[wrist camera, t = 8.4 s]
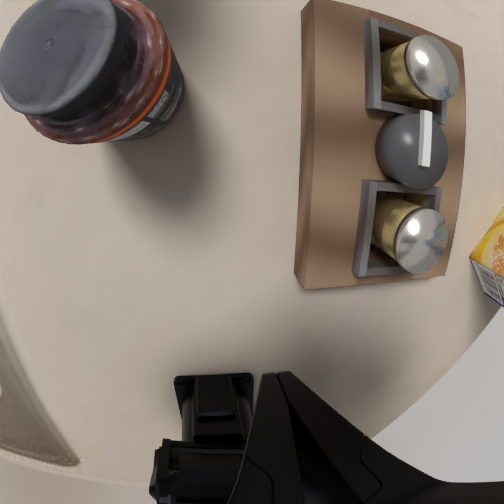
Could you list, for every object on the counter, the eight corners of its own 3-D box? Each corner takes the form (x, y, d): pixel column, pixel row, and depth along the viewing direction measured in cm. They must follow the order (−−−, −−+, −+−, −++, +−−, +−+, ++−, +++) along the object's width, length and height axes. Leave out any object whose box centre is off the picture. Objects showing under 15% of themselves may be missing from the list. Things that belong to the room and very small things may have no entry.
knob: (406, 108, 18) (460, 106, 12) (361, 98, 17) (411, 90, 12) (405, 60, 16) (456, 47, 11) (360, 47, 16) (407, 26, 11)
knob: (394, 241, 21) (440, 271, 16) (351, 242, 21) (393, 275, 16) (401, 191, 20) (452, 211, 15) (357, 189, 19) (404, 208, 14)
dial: (427, 186, 17) (448, 193, 15) (373, 181, 17) (393, 188, 15) (431, 118, 16) (454, 118, 14) (376, 105, 15) (397, 103, 13)
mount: (427, 263, 23) (452, 280, 19) (293, 272, 21) (309, 297, 18) (441, 51, 16) (470, 45, 13) (301, 11, 15) (319, -10, 11)
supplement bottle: (97, 53, 14) (-2, -15, 3) (190, 48, 15) (173, -57, 4) (89, 143, 16) (-33, 160, 6) (181, 141, 17) (142, 142, 6)
